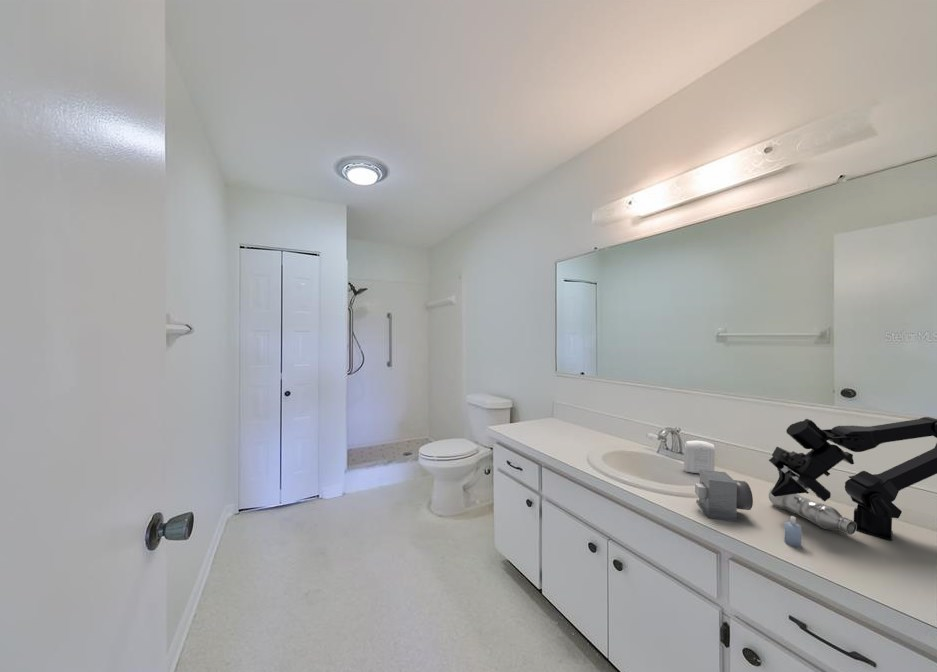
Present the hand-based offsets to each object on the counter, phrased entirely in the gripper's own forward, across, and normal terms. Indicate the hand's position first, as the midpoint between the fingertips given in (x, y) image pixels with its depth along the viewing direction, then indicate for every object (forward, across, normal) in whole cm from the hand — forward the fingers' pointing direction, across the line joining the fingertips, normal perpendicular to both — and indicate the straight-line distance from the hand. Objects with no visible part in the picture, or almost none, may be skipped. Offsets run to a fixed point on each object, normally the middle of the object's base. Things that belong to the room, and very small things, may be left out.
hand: (772, 494), depth 103 cm
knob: (+13, 0, -6) cm, 14 cm away
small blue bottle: (+6, +13, +4) cm, 15 cm away
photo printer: (+12, -32, -1) cm, 34 cm away
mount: (+15, 0, -5) cm, 16 cm away
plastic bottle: (-1, -11, +7) cm, 13 cm away
